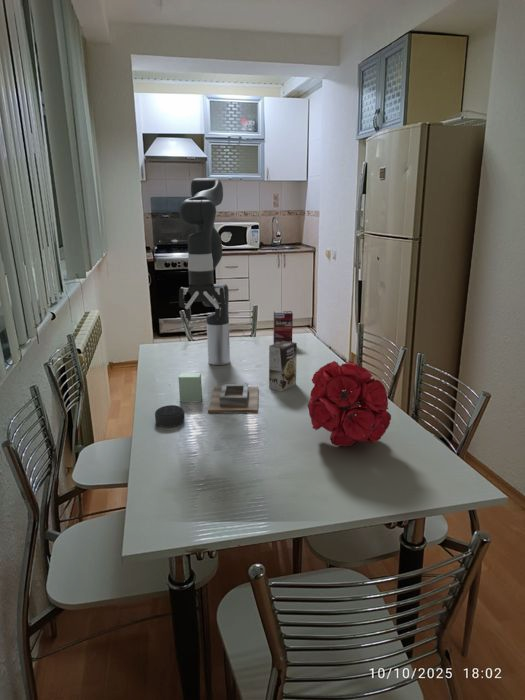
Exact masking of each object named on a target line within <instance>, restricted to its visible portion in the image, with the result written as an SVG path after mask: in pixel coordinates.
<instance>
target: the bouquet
mask: <svg viewBox="0 0 525 700" xmlns="http://www.w3.org/2000/svg"><path fill="white" fill-rule="evenodd" d="M372 377H373V374H371V371H368V370H367V369H366V368H365V367H362V366H360V365H359V364H358V363H356V362H350V361H347V362H346V363H342V364H341V365H340V364H339V362H338V361H335V360H333V361H332V362H329V363H327V364H325V365H323V366H321V367H320V368H319V369H318V370H317V371H315V372H314V373H313V376H312V378H311V382H312V384H314V386H313V387H312V389H311V390H310V395H309V396H310V398H309V402H308V403H307V408H308V414H309V417H310V419H311V426H312V429H314V431H317V430H319V429H320V428H323V429H324V430H326V431H328V432H331V433H330V436H329V438H330V439H329V440H330V443H331V444H332V445H333V446H337V447H338V446H341V447H345V446H353V445H354V444H355V443H356V442H358V443H364V442H369V443H376V442H378V441H379V440H381V438H382V437H383V436H384V434H385V433H386V431H387V429H389V427H390V424H391V422H390V421H392V415H391V413H390V412H389V411H387V410H389V407H388V406H389V398H388V395H387V393H388V392H387V391H386V387H385V385H384V384H383V383H382V381H381V380H379V379H375V378H372Z"/></svg>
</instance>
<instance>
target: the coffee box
mask: <svg viewBox="0 0 525 700" xmlns="http://www.w3.org/2000/svg"><path fill="white" fill-rule="evenodd" d="M297 345H298V344H297V342H293V341H292V342H288V341H281V342H278V343H276V344H274V343H273V344H271V345H269V346H268V350H269V353H268V388H269V389H273V390H276V391H280V392H284V391H286V390H287V389H289V388H292V387H294V386H295V385H297V356H298V355H297V354H298V353H297V351H298V349H297V348H298V346H297Z"/></svg>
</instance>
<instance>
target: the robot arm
mask: <svg viewBox="0 0 525 700" xmlns="http://www.w3.org/2000/svg"><path fill="white" fill-rule="evenodd" d="M190 193H191V197H190V198H189V197H188V198H186V199H185V200H183V201H182V202H181V205H180V207H179V217H180V219H181V221H182V223H184V224H186V225H188V226H195V229H196V230H195V232H194V233H191V234H189V235H188V236H187V251H188V257H187V270H188V285H189V286H188V287H183V286H181V287H180V288H178V305H179V306H178V307H179V308H183V309H185V318H186V319H187V320H188V321H189V322H191V321H192V310H191V309H192V308H191V307H192V305H193V303H194V301H195V302H198V303H199V302H202V304H203V306H205V307H206V308H207V307H208V308H209V307H211V308H214V313H210V314H208V315H207V316H206V319H205V320H206V321H205V322H206V337H207V339H206V340H207V358H208V364H209V365H212V366H224V365H228V364H229V363H230V362H231V354H230V353H231V351H230V350H231V348H230V347H231V346H230V318H229V315H230V314H229V298H230V295H229V293H230V291H229V287H228V285H227V284H225V283H215V282H214V281H215V279H214V278H215V277H214V271H215V269H216V268H217V266H218V265H219V264H220V262H221V259H222V257H223V243H222V242H223V241H222V237H221V235H220V234H219V232H218V230H217V229H216V228H215V226H214V224H215V220H216V217H217V216H216V215H217V206H219V205H221V204H222V202H223V198H224V187H223V183H222V181H221V180H220V179H219V178H216V177H213V178H212V177H206V178H205V177H203V178H201V177H200V178H199V177H197V178H193V179H192V181H191V183H190ZM187 293H189V295H190V296H191V298H190V299H189V300H188V302H187V303H185V295H187Z"/></svg>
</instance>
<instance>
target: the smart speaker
mask: <svg viewBox="0 0 525 700" xmlns="http://www.w3.org/2000/svg"><path fill="white" fill-rule="evenodd" d="M154 418H155V419H154V422H155V423H156V424H157V425H158V426H160V427H164V428H172V427H177V426H179V425H181V424H182V423H183V422H184V421H185V418H186V417H185V410H184V408H183V407H182V406H180V405H174V404H173V405H172V404H170V405H164V406H161V407H158V408H157V409H156V410H155V411H154Z"/></svg>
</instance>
